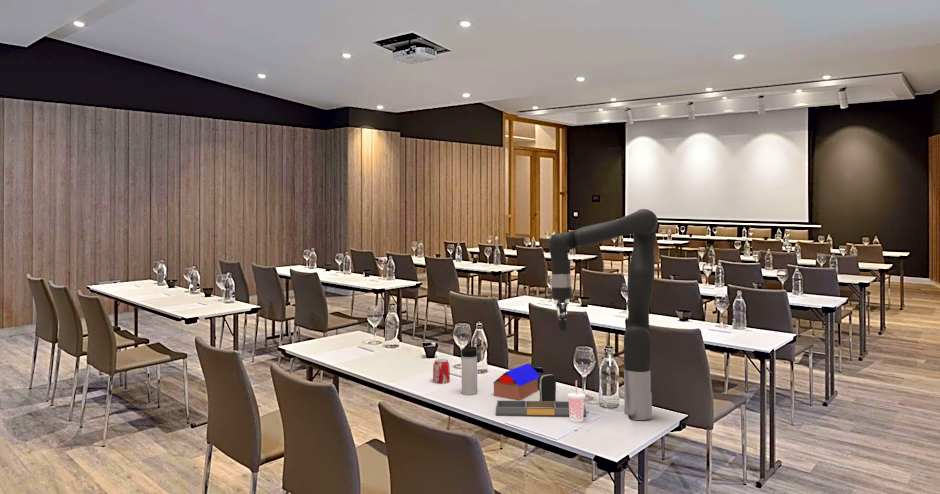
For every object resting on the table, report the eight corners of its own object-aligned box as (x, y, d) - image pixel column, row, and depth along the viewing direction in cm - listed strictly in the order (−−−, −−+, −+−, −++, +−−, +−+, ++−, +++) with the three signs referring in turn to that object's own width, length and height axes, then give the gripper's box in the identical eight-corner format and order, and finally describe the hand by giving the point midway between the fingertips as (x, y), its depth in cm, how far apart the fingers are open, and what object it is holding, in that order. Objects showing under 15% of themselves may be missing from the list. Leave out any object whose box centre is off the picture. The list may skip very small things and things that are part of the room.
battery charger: (550, 401, 254) (550, 372, 254) (556, 403, 251) (556, 374, 251) (536, 404, 250) (535, 374, 250) (542, 406, 247) (542, 376, 247)
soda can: (449, 390, 275) (449, 361, 275) (432, 390, 275) (432, 362, 275) (450, 386, 282) (449, 358, 282) (433, 386, 282) (433, 358, 282)
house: (541, 392, 270) (541, 364, 270) (519, 403, 253) (519, 373, 253) (515, 389, 276) (515, 362, 276) (492, 399, 259) (492, 370, 259)
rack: (583, 409, 242) (583, 401, 242) (586, 417, 232) (585, 408, 232) (497, 408, 245) (497, 400, 245) (495, 415, 235) (495, 407, 235)
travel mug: (481, 397, 263) (480, 347, 262) (469, 400, 258) (469, 349, 258) (469, 394, 267) (469, 345, 267) (458, 397, 262) (458, 347, 262)
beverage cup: (576, 423, 224) (576, 382, 224) (563, 419, 229) (563, 379, 229) (589, 420, 227) (588, 380, 227) (576, 416, 232) (576, 377, 232)
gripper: (572, 287, 238) (573, 331, 239) (570, 284, 253) (570, 326, 253) (552, 287, 239) (553, 331, 239) (550, 284, 253) (551, 326, 253)
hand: (562, 328), depth 246 cm, fingers open, 8 cm apart
